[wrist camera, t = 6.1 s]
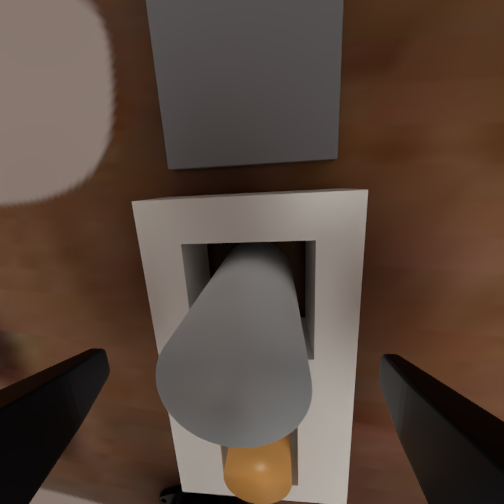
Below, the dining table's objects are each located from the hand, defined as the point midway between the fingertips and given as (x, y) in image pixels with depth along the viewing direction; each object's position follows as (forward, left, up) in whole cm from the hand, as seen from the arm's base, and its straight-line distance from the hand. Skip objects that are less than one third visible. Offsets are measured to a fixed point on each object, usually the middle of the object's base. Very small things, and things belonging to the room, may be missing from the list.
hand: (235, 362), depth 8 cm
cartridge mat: (+5, +10, -8) cm, 14 cm away
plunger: (-4, -9, -7) cm, 12 cm away
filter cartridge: (0, 0, -8) cm, 8 cm away
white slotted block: (-2, -4, -8) cm, 9 cm away
